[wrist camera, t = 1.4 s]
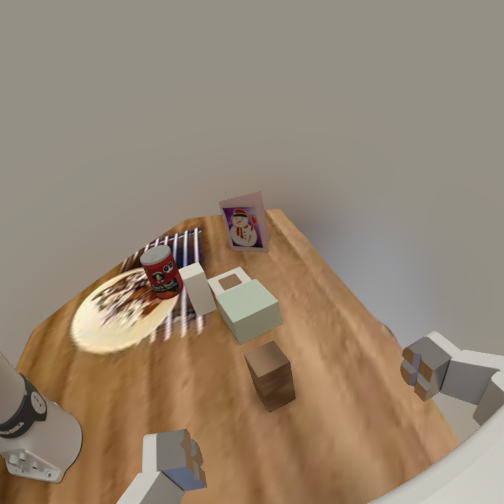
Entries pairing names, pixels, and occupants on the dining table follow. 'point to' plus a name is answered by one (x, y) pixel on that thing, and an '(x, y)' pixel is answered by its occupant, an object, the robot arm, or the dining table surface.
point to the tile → (228, 281)
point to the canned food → (162, 272)
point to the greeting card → (245, 223)
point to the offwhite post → (198, 289)
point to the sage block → (249, 310)
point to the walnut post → (271, 375)
